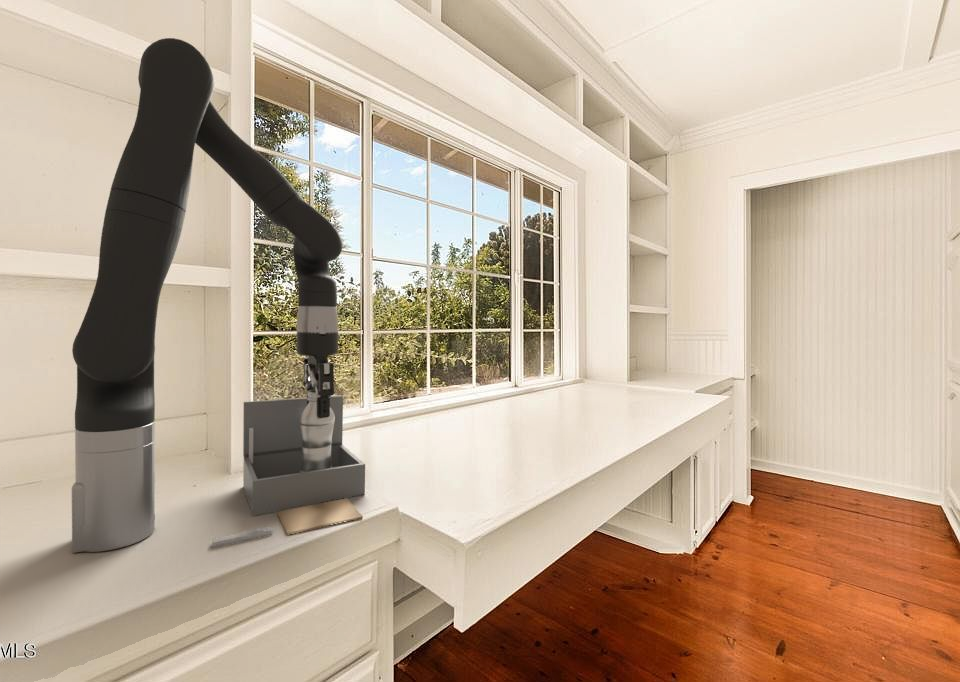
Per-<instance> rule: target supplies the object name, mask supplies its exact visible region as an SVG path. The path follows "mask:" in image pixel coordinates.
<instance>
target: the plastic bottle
mask: <svg viewBox="0 0 960 682" xmlns="http://www.w3.org/2000/svg"><path fill="white" fill-rule="evenodd" d="M306 398H307V397H306ZM307 401H309V403H308V405H307V406H306V407H305V409H304V410H303V412H302V413H301V416H300V427H301V435H302V446H303V447H302V461H301V469H300V473H301V472H308V471H315V470H321V469H328V468H332V458H331V443H332V433H333V427H334V421H335V416H334V412H333V411H332V409H331V408H330V416H329V417H326V418H318V417H317V396H316V390H309V391H308V398H307Z"/></svg>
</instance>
